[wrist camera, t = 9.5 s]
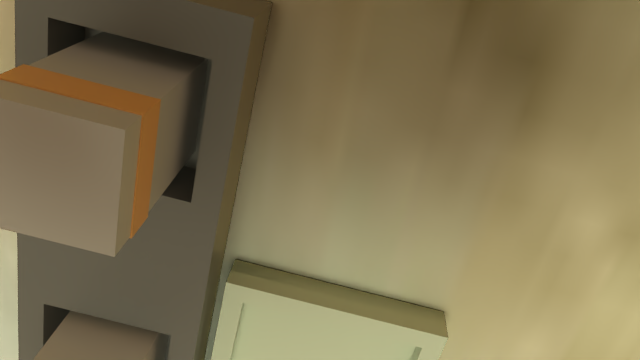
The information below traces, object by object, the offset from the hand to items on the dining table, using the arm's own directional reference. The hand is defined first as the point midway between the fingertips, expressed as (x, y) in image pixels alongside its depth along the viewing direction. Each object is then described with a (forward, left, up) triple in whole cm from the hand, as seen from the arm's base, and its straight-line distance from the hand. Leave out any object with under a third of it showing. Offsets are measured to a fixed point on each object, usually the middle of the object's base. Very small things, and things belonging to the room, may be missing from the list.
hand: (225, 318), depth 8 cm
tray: (-3, +13, -13) cm, 19 cm away
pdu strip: (+5, +8, -13) cm, 16 cm away
